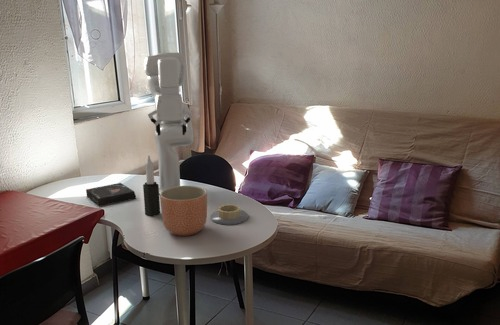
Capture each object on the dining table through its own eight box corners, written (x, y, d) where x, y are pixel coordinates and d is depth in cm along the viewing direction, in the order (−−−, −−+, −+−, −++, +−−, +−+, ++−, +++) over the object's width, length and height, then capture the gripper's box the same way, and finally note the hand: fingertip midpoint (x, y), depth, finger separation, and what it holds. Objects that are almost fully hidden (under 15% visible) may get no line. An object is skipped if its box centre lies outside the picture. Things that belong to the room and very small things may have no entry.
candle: (154, 210, 188) (150, 153, 181) (161, 213, 184) (157, 155, 178) (144, 214, 184) (139, 155, 178) (150, 217, 181) (146, 157, 174)
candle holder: (208, 212, 185) (207, 203, 184) (243, 209, 188) (243, 200, 187) (213, 226, 171) (213, 216, 170) (251, 222, 174) (251, 213, 173)
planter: (168, 243, 157) (166, 203, 153) (158, 226, 172) (155, 189, 168) (214, 235, 163) (213, 196, 159) (200, 219, 178) (199, 183, 174)
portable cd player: (136, 199, 203) (135, 191, 202) (99, 207, 194) (98, 198, 192) (122, 190, 216) (121, 182, 215) (87, 197, 206) (86, 189, 205)
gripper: (145, 92, 167) (148, 137, 172) (191, 92, 169) (193, 136, 173) (147, 90, 175) (150, 133, 179) (192, 89, 176) (193, 132, 180)
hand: (171, 134), depth 176 cm, fingers open, 9 cm apart
